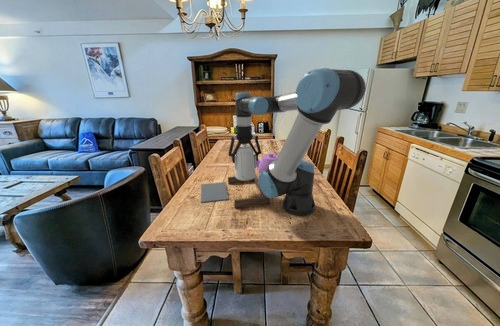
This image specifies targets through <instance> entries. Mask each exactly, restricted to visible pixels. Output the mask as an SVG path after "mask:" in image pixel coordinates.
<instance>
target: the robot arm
mask: <svg viewBox="0 0 500 326" xmlns="http://www.w3.org/2000/svg"><path fill="white" fill-rule="evenodd" d="M366 87H367V86H366V82H365V79H364V77H363V76H362V75H361V74H360V73H359V72H357V71H355V70H351V69H335V68H334V69H332V68H328V67H325V68H316V69H313V70H310V71H308V72H307V73H305V74H304V75H303V76H302V77H301V78H300V80H299V81H298V83H297V86H296V88H295V89H296V90H295V91H293V92H288V93H284V94H279V95H272V96H252V94H251V93H250V92H236V93H235V101H234V102H235V116H236V118H235V119H236V136H232V135H231V136H230V144H229V149H228V154H227V155H228V156H229V157H231V160H232V161H231V162H232V163H233V164H234V170H235V169H237V164H236V153H237V151H238V149H239V147H240V146H242V144H247V145H248V144H249V146H251V147H252V149H253V150H254V151H253V153H254V164H255V169H256V168H257V166H256V161H258V159H259V155H261V154H262V150H261V146H260V143H259V142H260V141H259V135H257V134H255V135H253V132H252V131H253V130H252V129H253V127H252V123H253V122H252V121H253V120H252V115H255V116H260V115H261V116H262V115H264V114H273V113H274V114H276V113H286V112H291V111H297V113H298V114H297V116H296V117H295V119H294V121H293V125H292V127H291V128H290V131H289V133H288V134H287V137H286V139H285V141H284V143H283V145H282V147H281V149H280V151H279V153H278V154H277V155H278V157H277V160H275V161H273V162H271V164H270V165H269V168H268V170H267V171H263V172H261V173H259V174H258V176H257V178H258V181H259V186H260V188H261V190H262V192H263V194H264V195H265V196H266V197H268V198H270V199H274V198H275V199H276V198H279V197H281V196H284V197H283V200H282V208H283V210H284V212H287V213H289V214H291V215H294V216H308V215H312V214H313V213H314V212H315V210H316V202H315V199H314V195H313V191H314V180H315V165H314V164H313V163H312V162H310V161H308V160H304V158H305V156H306V154H307V153H308V150H309V149H310V147H311V145H312V144H313V143H314V141H315V139H316V138H317V135H318V134H319V132H320V130H321V129H322V127H323V125H327V124H329V123H331V122H332V120H333V118H334V116H335V115H336V114H337V111H340V110H341V111H342V110H348V109H351V108H353V107H355V106H357V105H358V104H359V103H360V102H361V101H362V100H363V99H364V96H365V93H366ZM252 139H253V140H254V143H255V145H256V148H255V146H254V144H253V142H252ZM236 140H237V144H236V146H235V147H234V144H235V141H236ZM233 149H234V150H233ZM256 149H257V150H256Z"/></svg>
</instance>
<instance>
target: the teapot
mask: <svg viewBox="0 0 500 326" xmlns="http://www.w3.org/2000/svg"><path fill="white" fill-rule="evenodd" d="M278 155H279V154H277V153H276V152H274V153H272V152H269V153H268V154H267V153H266V154H264V155H263V156H262V157H261V158H260V159H259V158H258V161H256V168H257V171H258V173H259V174H260V173H261V172H263V171H267V170H268V168H269V165H270V164H271V162H273V161H275V160H277V157H278Z"/></svg>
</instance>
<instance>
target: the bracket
mask: <svg viewBox="0 0 500 326" xmlns="http://www.w3.org/2000/svg"><path fill="white" fill-rule="evenodd" d="M252 182H253V183H254V184H255V186H256V188H257V189H258V191H259V192H260V195H261V196H256V197H247V198H239V199H234V200H233V205H234V209H241V208H242V209H243V208H249V207H250V208H251V207H258V206H268V205H270V199H271V198H268V197H266V196H265V195H264V194H263V192H262V190H261V188H260V186H259V181H258V176H257V175H256V176H255V178H254V179H252V180H248V181H242V180H238V179H237V178H236V177H235V176H228V177H227V184H228V185H232V184H233V185H234V184H241V183H242V184H243V183H252Z"/></svg>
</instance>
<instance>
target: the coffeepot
mask: <svg viewBox="0 0 500 326" xmlns="http://www.w3.org/2000/svg"><path fill="white" fill-rule="evenodd" d="M254 154H255V153H254V150H253V149H252V147H251V146H250V145H248V144H241V145H240V147H239V149H238V151H237V153H236V155H235V156H236V164H237V169H235V168H234V171H235V173H234V174H235V176H234V177H236V178H237V179H238V180H242V181H248V180H252V179H254V178H255V176H257V174H256V168H255V164H254Z"/></svg>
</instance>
